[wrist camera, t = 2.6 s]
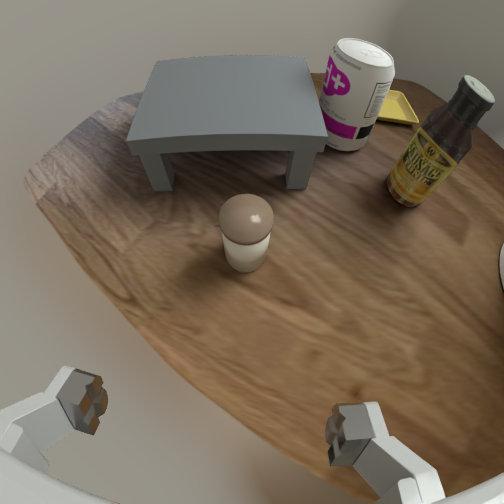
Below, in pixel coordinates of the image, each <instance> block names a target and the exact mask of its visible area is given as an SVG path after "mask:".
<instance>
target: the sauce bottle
mask: <svg viewBox="0 0 504 504" xmlns="http://www.w3.org/2000/svg"><path fill="white" fill-rule="evenodd" d="M494 103H495V100H494V97H493V95H492V94H491V92H490V91H489V90H488V89H487V88H486V87H485V86H484V85H483V84H482V83H480V82H479V81H478V80H477V79H475V78H473V77H471V76H468V75H465V76H464V77H463V78H462V80H461V81H460V82H459V87H458V90H457V91H456V93H455V94H454V96H453V98H452V99H451V100H450V101H449V102H448V104H445V105H443V106H441V107H438V108H435V109H434V110H432V111H431V113H430V114H429V116H428V117H427V119H426V120H425V121H424V123H423V124H422V125H421V126H420V127H419V129H418V131H417V132H416V134H415V135H414V137H413V138H412V140H411V141H410V143H409V144H408V146H407V147H406V149H405V150H404V152H403V153H402V155H401V156H400V158H399V159H398V161H397V162H396V164H395V165H394V167H393V168H392V170H391V172H390V174H389V175H388V178H387V186H388V189H389V192H390V193H391V195H392V196H393V198H394V199H395V200H397V201H398V202H399V203H401V204H403V205H405V206H407V207H413V206H417V205H419V204H421V203H422V202H423V201H425V200H426V199H427V198H428V197H429V196H430V195H431V193H432V192H433V191H434V190H435V189H436V188H437V187H438V186H439V185H440V184H441V183H442V182H443V180H444V179H445V178H446V177H447V176H448V175H449V174H450V173H451V172H452V171H453V170H454V168H455V167H456V166H457V165H458V164H459V162H460V160H461V159H462V158H463V157H464V156H465V155H466V153H467V152H468V151H469V150H470V149H471V147H472V140H473V130H474V128H475V127H476V126H477V124H478V121H479V120H480V119H481V117H482V116H483V115H484V113H485V112H486V111H489V110H490V108H491V107H492V105H493V104H494Z"/></svg>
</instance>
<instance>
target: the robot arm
mask: <svg viewBox="0 0 504 504" xmlns="http://www.w3.org/2000/svg"><path fill="white" fill-rule="evenodd" d="M500 273H501V279H502V284H503V288H504V244H503V246H502V249H501V253H500ZM102 384H103V381H102V378H101V376H98V375H94V374H91V373H88V372H85V371H82V370H79V369H76V368H73V367H70V366H67V365H65V366H63V367H62V368H61V369H60V371H59V372H58V373H57V375H56V376H55V378H54V379H53V380H52V382H51V383H50V385H49V386H48V388H47V389H46V390H45V392H44V393H42V392H40V393H38V394H35V395H33V396H31V397H29V398H27V399H25V400H22V401H20V402H18V403H16V404H13V405H11V406H9V407H7V408H5V409H2V410H0V504H119V503H116V502H113V501H110V500H107V499H104V498H101V497H99V496H96V495H93V494H91V493H88V492H85V491H83V490H80V489H78V488H76V487H73V486H71V485H69V484H67V483H64V482H62V481H60V480H58V479H56V478H54V477H52V476H50V475H48V474H46V471H47V470H48V467H49V462H48V461H47V459H46V458H45V457H44V456H43V455H42V453H43V452H44V451H46V450H47V449H48V448H50V447H51V446H53V445H54V444H56V443H57V442H59V441H60V440H62V439H63V438H64V437H66V436H67V435H69V434H70V433H72V432H73V431H74V429H75V430H79V431H81V432H84V433H87V434H91V435H94V434H95V432H96V430H97V427H98V425H99V423H100V421H99V418H98V417H99V416H101V415H103V414H104V413H105V411H106V409H107V404H108V395H107V392H106V390H105V389H103V387H102ZM332 414H333V415H332V416H330V417H329V418H328V420H327V423H326V428H325V437H326V442H327V443H328V444H329V445H330V448H329V450H328V457H329V464H330V466H346V465H353V467H354V468H355V470H356V471H357V472H358V473H359V474H360V475H361V476H362V478H363V479H364V480H365V481H366V482H367V483H368V484H369V485H370V487H371V488H372V489H373V490H374V491H375V492H376V493H377V494H378V495H379V496H380V499H379V500H378V501H376V502H375V503H374V504H504V472H503V473H501V474H499V475H497V476H495V477H493V478H491V479H489V480H487V481H485V482H483V483H481V484H479V485H476V486H474V487H472V488H469V489H467V490H465V491H462V492H460V493H457V494H455V495H452V496H450V497H447V498H446V497H445V494H444V491H443V488H442V485H441V482H440V479H439V476H438V474H437V471H436V469H434V468H433V467H432V466H430V465H429V464H428V463H427V462H425V461H424V460H423V459H421V458H420V457H419V456H418V455H416V454H415V453H414V452H412V451H411V450H410V449H409V448H407V447H406V446H405V445H404V444H402V443H401V442H400V441H399V440H397V439H396V438H395V437H394V436H389V433H388V430H387V427H386V424H385V422H384V419H383V416H382V413H381V410H380V407H379V404H378V403H377V402H363V403H362V402H358V403H339V404H335V405H334V406H333V408H332Z"/></svg>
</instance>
